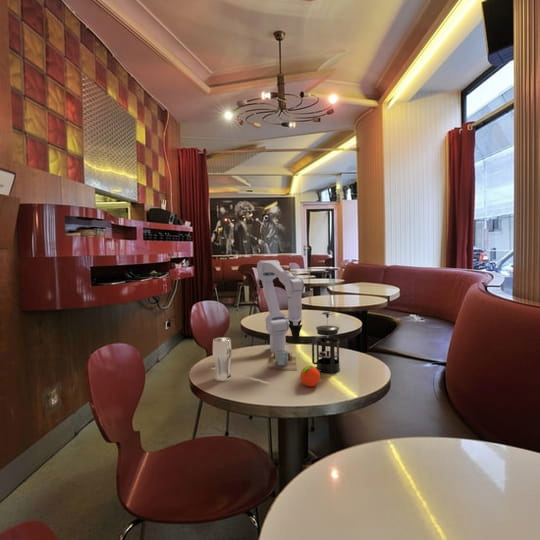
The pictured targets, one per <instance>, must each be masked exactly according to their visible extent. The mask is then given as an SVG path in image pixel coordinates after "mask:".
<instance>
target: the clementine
mask: <svg viewBox="0 0 540 540" xmlns="http://www.w3.org/2000/svg"><path fill="white" fill-rule="evenodd" d="M319 371H320V370H318V369H317V367H315V366H312V365H306V366H305V367H304V368H302V370H301V372H300V376H299V377H300V380H301V382H302V384H303V385H304V386H306V387H315V386H317V385H318V384H319V382H320V380H321V374H320V372H319Z"/></svg>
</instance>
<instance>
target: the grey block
mask: <svg viewBox="0 0 540 540" xmlns="http://www.w3.org/2000/svg"><path fill="white" fill-rule="evenodd" d="M288 353H289V352H288V350H286V351H285V350H279V351H276V352H275V366H277V367H286V366H288Z"/></svg>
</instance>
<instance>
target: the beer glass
mask: <svg viewBox="0 0 540 540" xmlns="http://www.w3.org/2000/svg"><path fill="white" fill-rule="evenodd" d="M212 357H213V361H214V366H215V373H214V380H215V381H217V382H227V381H230V380H231V379H232V374H231V370H230V369H231V361H232V360H231V359H232V340H231V338H230V337H225V336H223V337H216V338H213V340H212Z"/></svg>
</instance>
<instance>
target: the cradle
mask: <svg viewBox="0 0 540 540" xmlns="http://www.w3.org/2000/svg"><path fill="white" fill-rule="evenodd" d="M265 371H266V372H284V371H285V372H295V371H298V369H297V357H296V356H293V352H288V366H286V367H277V366H275V353H274V352H271V356H268V357H267V363H266V370H265Z"/></svg>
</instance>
